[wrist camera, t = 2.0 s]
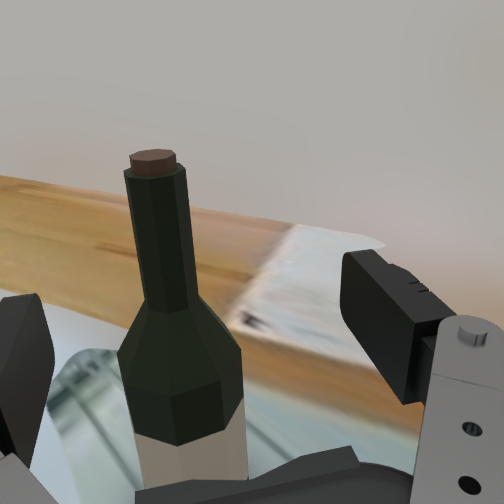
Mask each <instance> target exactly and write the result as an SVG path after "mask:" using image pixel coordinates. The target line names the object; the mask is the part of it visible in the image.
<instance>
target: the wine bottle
mask: <svg viewBox="0 0 504 504" xmlns="http://www.w3.org/2000/svg"><path fill="white" fill-rule="evenodd" d="M129 157H130V163H131V168H129V169H126V170H124V177H125V183H126V189H127V195H128V201H129V208H130V214H131V220H132V226H133V232H134V238H135V244H136V250H137V256H138V262H139V268H140V274H141V280H142V286H143V292H144V298H145V300H144V302H143V304H142V306H141V308H140V310H139V312H138V314H137V316H136V318H135V320H134V321H133V323H132V325H131V327H130V329H129V331H128V333H127V335H126V337H125V339H124V341H123V343H122V345H121V347H120V349H119V350H118V352H117V358H118V362H119V367H120V372H121V377H122V381H123V386H124V391H125V396H126V400H127V405H128V410H129V415H130V419H131V424H132V429H133V434H134V439H135V443H136V448H137V453H138V458H139V462H140V467H141V472H142V477H143V481H144V486H145V489H149V488H154V487H158V486H163V485H168V484H172V483H177V482H182V481H187V480H191V479H196V480H249V477H248V460H247V443H246V426H245V408H244V391H243V374H242V357H241V348H240V347H239V345H238V344H237V342H236V341H235V339H234V338H233V336H232V335H231V333H230V332H229V330H228V329H227V327H226V326H225V324H224V323H223V322H222V321H221V320H220V318H219V317H218V316H217V315H216V314H215V313H214V312H213V310H212V309H211V308H210V307H209V306H208V305H207V304H206V303H205V301H204V300H203V299H202V298H201V297H200V296H199V295H198V285H197V276H196V266H195V256H194V247H193V237H192V227H191V218H190V208H189V199H188V189H187V179H186V169H185V168H184V167H183V166H182V165H181V164H180V163H176V154H175V153H174V152H173V151H172V150H162V149H153V150H145V151H139V152H136V153H134V154H132V155H130V156H129Z"/></svg>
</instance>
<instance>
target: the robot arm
mask: <svg viewBox="0 0 504 504" xmlns="http://www.w3.org/2000/svg"><path fill="white" fill-rule="evenodd" d="M340 309H341V314H342V317H343V320H344V322H345V323H346V325H347V326H348V328H349V329H350V330H351V332H352V333H353V335H354V336H355V338H356V339H357V340H358V342H359V343H360V345H361V346H362V348H363V349H364V350H365V352H366V353H367V355H368V356H369V358H370V359H371V360H372V362H373V363H374V365H375V366H376V368H377V369H378V370H379V372H380V373H381V375H382V376H383V378H384V379H385V380H386V382H387V383H388V385H389V386H390V388H391V389H392V390H393V392H394V393H395V395H396V396H397V398H398V399H399V400H400V402H401V403H402V405H405V404H410V403H415V402H420V401H421V402H422V403H423V405H424V406H425V407H424V412H423V418H422V424H421V430H420V436H419V442H418V448H417V454H416V459H415V465H414V471H413V476H412V475H410V474H408V473H406V472H403V471H401V470H398V469H395V468H392V467H388V466H384V465H380V464H374V463H366V462H359V461H358V459H357V457H356V455H355V453H354V451H353V449H352V447H351V445H350V446H345V447H341V448H336V449H331V450H327V451H322V452H317V453H313V454H308V455H303V456H300V457H298V458H296V459H294V460H292V461H290V462H288V463H286V464H284V465H281V466H279V467H277V468H275V469H273V470H271V471H269V472H267V473H265V474H263V475H261V476H259V477H257V478H254V479H251V480H196V479H191V480H187V481H182V482H177V483H172V484H168V485H163V486H158V487H154V488H149V489H144V490H140V491H135V504H504V331H503V330H502V329H500V327H498V326H497V325H495V324H493V323H491V322H489V321H487V320H485V319H482V318H478V317H474V316H468V315H457V314H456V313H455V312H453V311H452V310H451V309H450V308H449V307H448V306H447V305H446V304H445V303H443V302H442V301H441V300H440V299H439V298H438V297H437V296H436V295H434V294H433V293H432V292H429V289H428V288H427V287H426V286H425V285H423V284H422V283H420V281H419V280H418V279H417V278H416V277H415V276H413V275H412V274H411V273H410V272H409V271H407V270H405V269H403V268H400V267H399V266H396V265H394V264H388V263H387V262H386V261H385V260H384V259H382V258H381V257H380V256H379V255H378V254H377V253H376V252H375V251H374V250H372V249H368V250H361V251H353V252H346V253H345V254H344V256H343V259H342V272H341V289H340ZM54 355H55V354H54V347H53V343H52V339H51V335H50V332H49V328H48V325H47V321H46V317H45V314H44V310H43V307H42V303H41V300H40V298H39V296H38V294H36V293H34V294H26V295H19V296H12V297H4V298H3V299H2V300H1V302H0V504H58V503H57V502H56V500H55V499H54V498H53V497H52V496H51V495H50V494H49V492H48V491H47V490H46V489H45V488H44V487H43V485H42V484H41V483H40V482H39V481H38V480H37V479H36V477H35V476H34V475H33V474H32V473H31V472H30V471H29V468H30V464H31V460H32V456H33V452H34V448H35V444H36V440H37V436H38V432H39V428H40V424H41V420H42V416H43V412H44V408H45V404H46V400H47V396H48V392H49V388H50V384H51V380H52V376H53V372H54V366H55V356H54Z"/></svg>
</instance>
